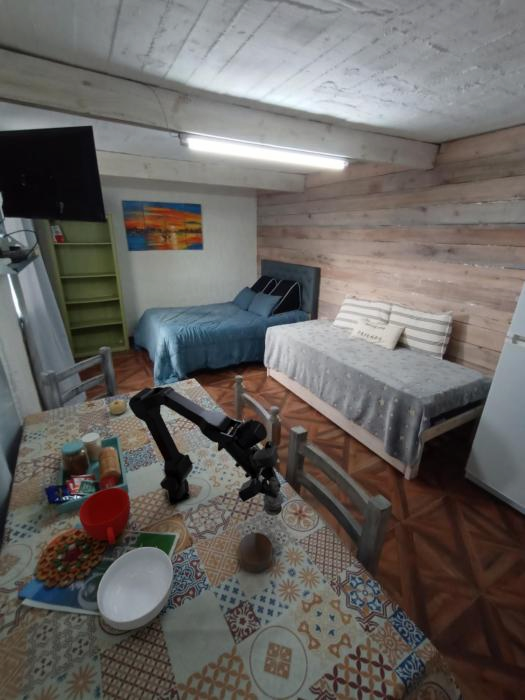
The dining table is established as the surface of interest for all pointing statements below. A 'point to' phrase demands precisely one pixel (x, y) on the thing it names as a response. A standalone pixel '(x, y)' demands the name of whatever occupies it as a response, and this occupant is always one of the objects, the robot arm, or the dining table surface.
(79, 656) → the dining table surface
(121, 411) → the onion
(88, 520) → the ceramic cup
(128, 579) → the cereal bowl
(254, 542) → the walnut puck
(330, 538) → the dining table surface
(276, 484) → the grey stone chess piece
